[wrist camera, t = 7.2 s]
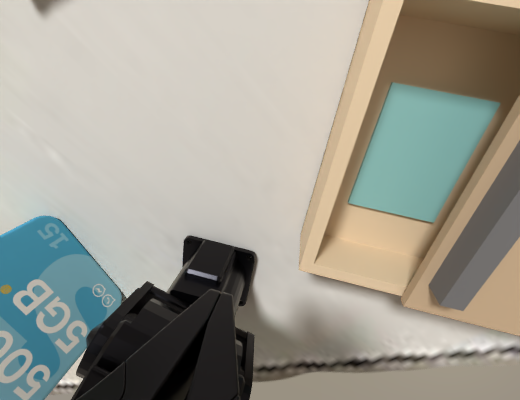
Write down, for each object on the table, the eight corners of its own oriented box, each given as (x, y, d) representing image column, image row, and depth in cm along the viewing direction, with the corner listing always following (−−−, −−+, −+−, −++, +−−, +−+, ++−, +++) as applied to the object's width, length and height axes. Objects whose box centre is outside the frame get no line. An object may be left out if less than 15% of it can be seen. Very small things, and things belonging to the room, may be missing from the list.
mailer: (463, 273, 20) (501, 321, 16) (300, 233, 21) (298, 270, 17) (627, 36, 13) (766, 19, 9) (371, -6, 14) (395, -39, 10)
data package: (128, 298, 29) (20, 430, 18) (101, 307, 30) (-14, 433, 19) (52, 208, 25) (-141, 307, 14) (25, 223, 26) (-168, 323, 16)
